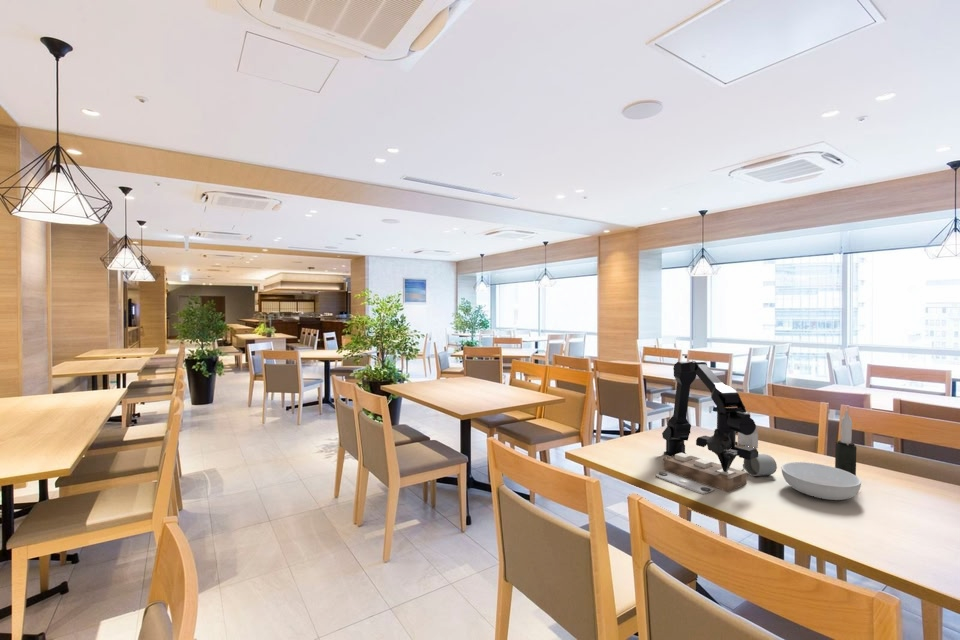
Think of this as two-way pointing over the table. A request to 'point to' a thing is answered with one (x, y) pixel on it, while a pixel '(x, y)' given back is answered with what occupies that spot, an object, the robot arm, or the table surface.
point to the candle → (846, 447)
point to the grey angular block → (748, 439)
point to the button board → (706, 473)
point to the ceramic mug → (760, 465)
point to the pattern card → (684, 482)
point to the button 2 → (725, 472)
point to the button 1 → (683, 457)
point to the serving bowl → (821, 480)
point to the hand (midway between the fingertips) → (725, 471)
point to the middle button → (703, 463)
